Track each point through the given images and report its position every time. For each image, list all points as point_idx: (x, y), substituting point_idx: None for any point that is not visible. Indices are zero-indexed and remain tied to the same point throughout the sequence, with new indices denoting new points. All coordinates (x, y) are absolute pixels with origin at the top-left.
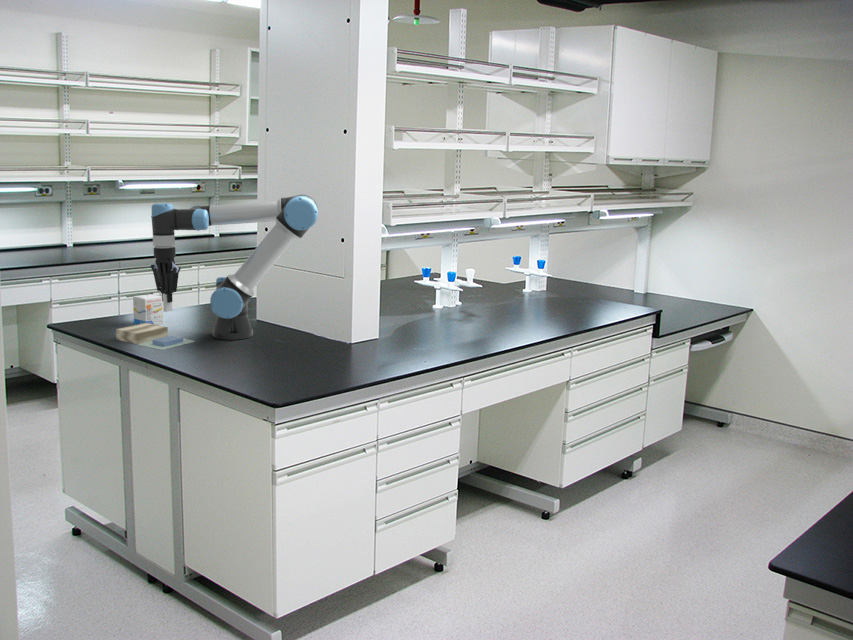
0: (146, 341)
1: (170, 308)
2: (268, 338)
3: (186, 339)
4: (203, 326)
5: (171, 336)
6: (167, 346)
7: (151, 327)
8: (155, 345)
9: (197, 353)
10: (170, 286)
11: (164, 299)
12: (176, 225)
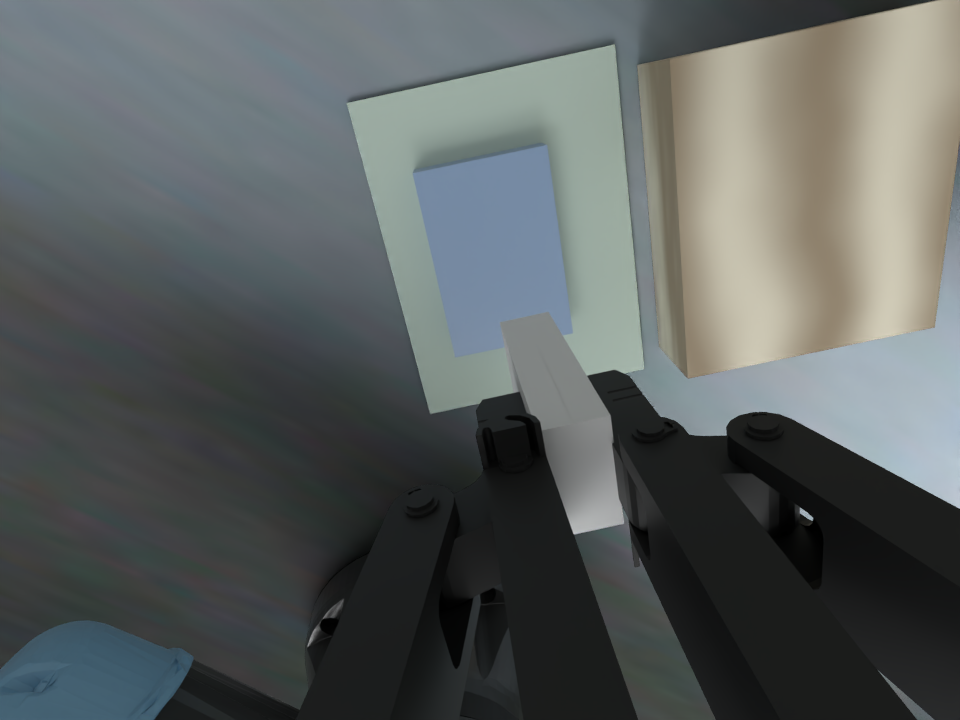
0: (646, 152)
1: (514, 392)
2: None
3: None
4: None
5: None
6: (405, 194)
7: (774, 280)
8: (493, 140)
9: (108, 263)
10: (403, 579)
11: (549, 379)
12: None
